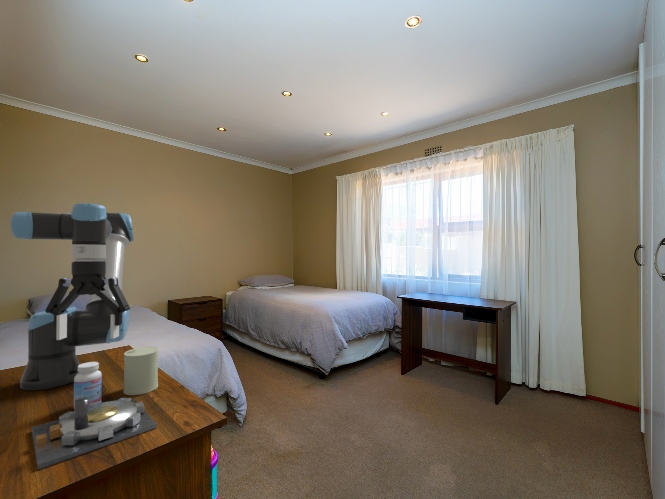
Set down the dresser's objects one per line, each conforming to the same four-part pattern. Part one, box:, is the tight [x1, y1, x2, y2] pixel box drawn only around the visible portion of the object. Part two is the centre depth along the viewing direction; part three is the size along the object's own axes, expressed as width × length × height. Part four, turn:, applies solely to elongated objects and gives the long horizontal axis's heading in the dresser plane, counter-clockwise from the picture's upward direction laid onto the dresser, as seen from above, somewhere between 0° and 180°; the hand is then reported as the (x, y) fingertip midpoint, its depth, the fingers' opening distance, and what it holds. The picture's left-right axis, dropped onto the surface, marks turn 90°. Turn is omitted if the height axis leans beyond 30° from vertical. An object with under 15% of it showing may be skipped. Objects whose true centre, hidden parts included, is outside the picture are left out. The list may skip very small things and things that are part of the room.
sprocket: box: [50, 397, 145, 445], centre depth 77 cm, size 18×18×8 cm
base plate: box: [31, 398, 158, 471], centre depth 76 cm, size 19×21×2 cm
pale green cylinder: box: [123, 346, 159, 396], centre depth 99 cm, size 9×9×12 cm
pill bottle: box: [73, 361, 103, 410], centre depth 88 cm, size 6×6×11 cm
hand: (88, 338), depth 88 cm, fingers open, 13 cm apart
